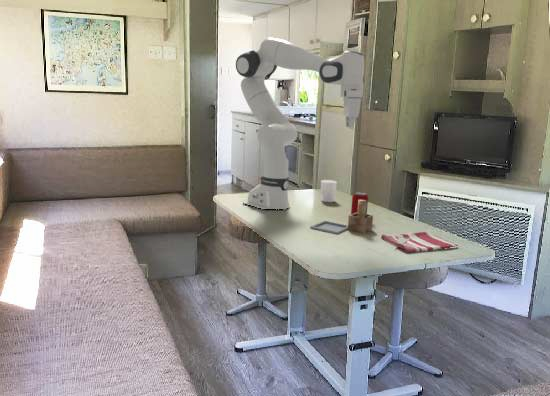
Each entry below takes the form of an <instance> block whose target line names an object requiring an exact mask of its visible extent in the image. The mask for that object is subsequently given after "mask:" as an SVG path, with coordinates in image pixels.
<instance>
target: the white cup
mask: <svg viewBox="0 0 550 396" xmlns="http://www.w3.org/2000/svg"><path fill="white" fill-rule="evenodd" d="M337 184H338V181H336V180H334V179H333V180H332V179H321V180H320V201H321V202H324V203H333V202H335V200H336V199H335V197H336V193H337Z"/></svg>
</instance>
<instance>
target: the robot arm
mask: <svg viewBox="0 0 550 396" xmlns="http://www.w3.org/2000/svg"><path fill="white" fill-rule="evenodd" d="M278 67H280V68H282V69H288V70H294V71H296V70H298V71H299V70H302V71H303V70H304V71H305V70H306V71H314V72H317V73H318V74H319V78H320V80H321V81H322V82H324V83H326V84H328V85H329V84H330V85H339V86H340V98H342V99H343V100H342V101H343V110H342V114H343V116H345V127H347V128H349V129H352V130H353V129H355V124H356V118H358V117H359V115H360V110H361V103H362V98H363V96H364V81H363V80H364V75H365V58H364V54H362V53H361V52H359V51H355V50H349V49H348V50H345V51H343V52H342V53H341V54H340V55H337V56H336V57H333V58H330V59H327V58H324V57H322V56H319V55H316V54H314V53H313V52H310V51H308V50H306V49H305V48H303V47H300V46H299V45H297V44H295V43H293V42H290V41H288V40H284V39H280V38H274V37H268V38H265V39H263V41H262V42H261V43H260V47H259V49H258V50H256V51H255V50H253V49H252V50H250V51H247V52H243V53H242V54H240V55H239V56H237V58H236V60H235V69H236V71H237V74H238V75H240V76H242V77H243V79H241V82H240V89H241V91H242V95H243V97H244V99H245V101H246V103H247V106H248V107H249V109H250V111H251V113H252V115H253V117H254V118H255V119H256V120H257V121H258V122H259V123H260V124H261V125H262V126H261V127H260V128H259V129H258V131H257V134H256V135H257V141H258V143H259V145H260V146H261V147H262V148H261V149H262V152H263V153H262V154H263V158H264V160H263V161H264V165H263V166H264V167H263V168H264V169H263V170H264V171H263V176H259V178H258V181H260V183H259V184H258V185H256V186H255V187H254V188H252V189H250V190H249V192H248V196H247V199H245V200H243V201H242V204H243V203H244V204H243V205H245V204H248V205H251V206H255V207H258V208H261V209H260V210H262V209H276V210H275V211H280V210H279V209H283V210H287V208H288V209H289V207H291V206H290V202H289V192H288V191H289V190H288V189H289V183H290V181H289V180H290V177H289V163H290V162H289V159H288V158H287V154H286V149H285V147H287V146H289V145H291V144H293V143H294V142H295V141H296V140H297V138H298V129H297V127H296V126H295V125H294V124H293V123H291V122H290V121H289V120H288V119H287V117H286V116H285V115H284V114H283V112H281V110H280V109H279V107H278V106H277V104H276V103H275V100H274V99H273V97H272V95H271V93H270V92H269V90H268V88H267V87H266V84H265V80H269V79H270V78H271V76H272V75H273V74H274V73H275V72H276V70H277V69H278ZM248 205H247V206H248ZM251 206H250V207H251ZM255 207H254V208H255ZM258 208H257V209H258ZM277 209H278V210H277Z"/></svg>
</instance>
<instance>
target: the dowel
mask: <svg viewBox="0 0 550 396" xmlns="http://www.w3.org/2000/svg"><path fill="white" fill-rule="evenodd" d="M365 212H366V200H358V210H357V217H362V218H365Z"/></svg>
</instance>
